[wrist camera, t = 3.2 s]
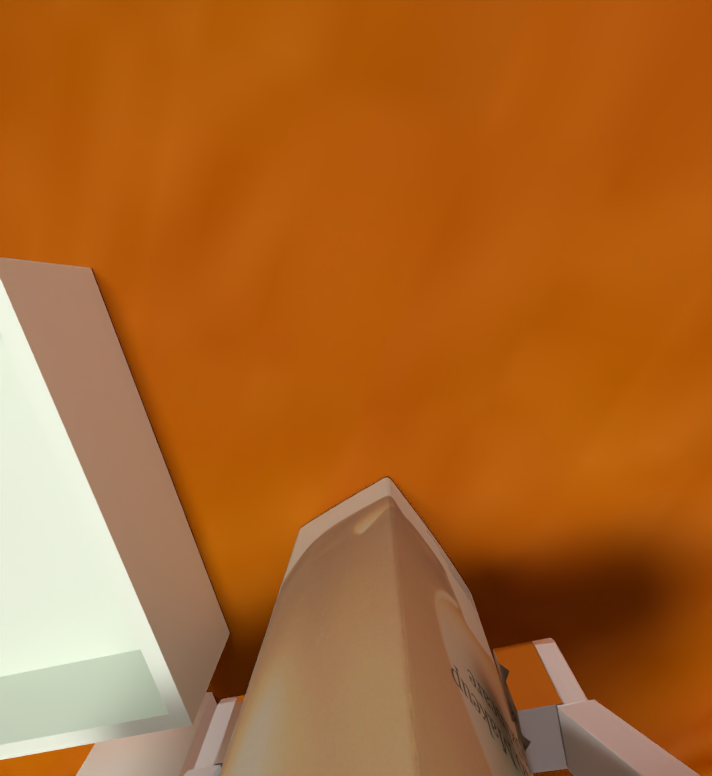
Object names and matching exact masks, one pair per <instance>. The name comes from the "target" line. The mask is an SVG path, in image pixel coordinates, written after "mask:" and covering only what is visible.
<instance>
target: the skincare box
mask: <svg viewBox="0 0 712 776" xmlns="http://www.w3.org/2000/svg"><path fill="white" fill-rule="evenodd" d="M219 776H533V773H530V772H529V769H528V766H527V763H526V760H525V758H524V755H523V752H522V749H521V746H520V744H519V741H518V736H517V732H516V727H515V723H514V722H512V721H511V718H510V715H509V712H508V709H507V706H506V703H505V700H504V696H503V693H502V689H501V685H500V681H499V677H498V671H497V668H496V665H495V662H494V659H493V657H492V654H491V651H490V648H489V645H488V642H487V639H486V636H485V633H484V630H483V627H482V624H481V621H480V618H479V615H478V612H477V609H476V606H475V604H474V601H473V598H472V595H471V592H470V591H469V589H468V587H467V586H466V584H465V583H464V581H463V579H462V578H461V576H460V575H459V573H458V572H457V570H456V569H455V567H454V565H453V564H452V562H451V561H450V559H449V558H448V557H447V555H446V554H445V552H444V551H443V549H442V548H441V546H440V545H439V543H438V542H437V541H436V539H435V538H434V536H433V535H432V533H431V532H430V531H429V529H428V528H427V527H426V525H425V524H424V522H423V521H422V520H421V519H420V517H419V516H418V515H417V513H416V512H415V511H414V509H413V508H412V507H411V505H410V504H409V503H408V501H407V500H406V499H405V497H404V496H403V495H402V494H401V492H400V491H399V490H398V488H397V487H396V486H395V484H394V483H393V482H392V480H391V479H390V478H388V477H386V478H383V479H381V480H380V481H378V482H376V483H375V484H373V485H371V486H369V487H368V488H366V489H364V490H362V491H360V492H359V493H357V494H355V495H354V496H352V497H350V498H348V499H347V500H345V501H343V502H342V503H340V504H338V505H337V506H335V507H333V508H332V509H330V510H328V511H327V512H325V513H324V514H322V515H320V516H319V517H317V518H316V519H314V520H312V521H311V522H309V523H308V524H306V525H305V526H303V527H302V528H301V529H300V530H299V533H298V536H297V539H296V542H295V545H294V548H293V551H292V554H291V557H290V561H289V564H288V567H287V570H286V573H285V576H284V579H283V582H282V585H281V587H280V591H279V594H278V597H277V600H276V603H275V606H274V609H273V612H272V616H271V619H270V622H269V625H268V628H267V631H266V634H265V637H264V640H263V643H262V646H261V649H260V652H259V655H258V658H257V662H256V664H255V667H254V670H253V673H252V676H251V679H250V682H249V686H248V689H247V692H246V695H245V698H244V701H243V704H242V707H241V710H240V713H239V717H238V720H237V723H236V725H235V728H234V731H233V734H232V737H231V740H230V743H229V747H228V750H227V753H226V756H225V759H224V762H223V765H222V768H221V771H220V774H219Z"/></svg>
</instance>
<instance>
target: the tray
mask: <svg viewBox="0 0 712 776" xmlns="http://www.w3.org/2000/svg"><path fill="white" fill-rule="evenodd" d="M229 634H230V632H229V630H228V627H227V624H226V622H225V619H224V616H223V614H222V611H221V609H220V606H219V603H218V601H217V598H216V595H215V593H214V590H213V588H212V585H211V582H210V580H209V577H208V574H207V572H206V569H205V567H204V564H203V561H202V559H201V556H200V553H199V551H198V548H197V546H196V543H195V540H194V538H193V535H192V532H191V530H190V527H189V524H188V522H187V519H186V517H185V514H184V511H183V509H182V506H181V503H180V501H179V498H178V496H177V493H176V490H175V488H174V485H173V482H172V480H171V477H170V475H169V472H168V469H167V467H166V464H165V461H164V459H163V456H162V454H161V451H160V448H159V446H158V443H157V440H156V438H155V435H154V433H153V430H152V427H151V425H150V422H149V419H148V417H147V414H146V411H145V409H144V406H143V404H142V401H141V398H140V396H139V393H138V390H137V388H136V385H135V383H134V380H133V377H132V375H131V372H130V369H129V367H128V364H127V362H126V359H125V356H124V354H123V351H122V348H121V346H120V343H119V341H118V338H117V335H116V333H115V330H114V327H113V325H112V322H111V320H110V317H109V314H108V312H107V309H106V306H105V304H104V301H103V298H102V296H101V293H100V291H99V288H98V285H97V283H96V280H95V277H94V275H93V272H92V270H91V268H88V267H80V266H71V265H62V264H54V263H45V262H37V261H28V260H19V259H11V258H2V257H0V760H2V759H8V758H13V757H19V756H24V755H30V754H36V753H41V752H47V751H52V750H58V749H63V748H69V747H74V746H80V745H86V744H91V743H97V742H102V741H108V740H113V739H119V738H125V737H130V736H136V735H141V734H147V733H152V732H158V731H163V730H169V729H175V728H180V727H186V726H191V725H193V723H194V721H195V718H196V716H197V713H198V711H199V708H200V706H201V703H202V701H203V699H204V696H205V694H206V691H207V689H208V686H209V684H210V681H211V679H212V676H213V674H214V671H215V669H216V666H217V664H218V662H219V659H220V657H221V654H222V652H223V649H224V647H225V644H226V642H227V639H228V637H229Z"/></svg>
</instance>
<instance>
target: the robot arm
mask: <svg viewBox="0 0 712 776" xmlns="http://www.w3.org/2000/svg"><path fill="white" fill-rule="evenodd" d="M493 653H494V658H495V662H496V665H497V668H498V671H499V674H498V677H499V681H500V685H501V689H502V693H503V696H504V700H505V703H506V706H507V709H508V712H509V715H510V718H511V721H512V722H514V723H515V727H516V732H517V736H518V741H519V744H520V746H521V749H522V752H523V755H524V758H525V760H526V763H527V766H528V769H529V772H530V773H538V772H546V771H554V770H562V769H568V770H569V772H570V773H571V774H572V775H573V776H700V775H699V774H697V773H696V772H694V771H693V770H692V769H690V768H689V767H687V766H686V765H685V764H683V763H682V762H681V761H679V760H678V759H676V758H675V757H674V756H672V755H671V754H669V753H668V752H667V751H665V750H664V749H663V748H661V747H660V746H658V745H657V744H656V743H654V742H653V741H651V740H650V739H649V738H647V737H646V736H645V735H643V734H642V733H640V732H639V731H638V730H636V729H635V728H633V727H632V726H631V725H629V724H628V723H626V722H625V721H624V720H622V719H621V718H620V717H618V716H617V715H615V714H614V713H613V712H611V711H610V710H608V709H607V708H606V707H604V706H603V705H602V704H600V703H599V702H597V701H596V700H595V699H593V700H588V699H587V698H586V696H585V694H584V692H583V691H582V689H581V687H580V685H579V683H578V682H577V680H576V678H575V676H574V675H573V673H572V671H571V669H570V667H569V666H568V664H567V662H566V660H565V659H564V657H563V655H562V653H561V651H560V650H559V648H558V646H557V644H556V643H555V641H554V640H553V639H552V638H546V639H541V640H536V641H532V642H530V641H529V642H524V643H519V644H514V645H509V646H504V647H499V648H494V649H493ZM244 698H245V695H242V696H237V697H231V698H225V699H222V700H221V701H220V702H219V704H218V705H217V707H216V710H215V712H214V715H213V718H212V721H211V723H210V726H209V729H208V732H207V734H206V737H205V740H204V742H203V745H202V748H201V751H200V753H199V756H198V759H197V761H196V764H195V767H194V769H191V770H188V771H187V772H186V773H185V775H184V776H219V774H220V771H221V768H222V765H223V762H224V759H225V756H226V753H227V750H228V747H229V743H230V740H231V737H232V734H233V731H234V728H235V725H236V723H237V720H238V717H239V713H240V710H241V707H242V704H243V701H244Z"/></svg>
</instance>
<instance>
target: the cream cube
mask: <svg viewBox="0 0 712 776" xmlns="http://www.w3.org/2000/svg"><path fill="white" fill-rule="evenodd" d="M216 707H217V703H216V701H215V698H214V696H213V693H212V692H207V693H206V694H205V696H204V699H203V701H202V703H201V706H200V708H199V711H198V713H197V716H196V718H195V721H194V723H193V725H191V726H186V727H180V728H175V729H169V730H163V731H158V732H152V733H147V734H141V735H136V736H130V737H125V738H119V739H113V740H108V741H102V742H97V743H95V745H94V747H93V748H92V750H91V752H90V753H89V755H88V757H87V758H86V760H85V762H84V763H83V765H82V767H81V768H80V770H79V771H78V773H77V775H76V776H184V775H185V773H186V772H187V771H188V770H191V769H194V767H195V764H196V761H197V759H198V756H199V753H200V751H201V748H202V745H203V742H204V740H205V737H206V734H207V732H208V729H209V726H210V723H211V721H212V718H213V715H214V712H215V710H216Z"/></svg>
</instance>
